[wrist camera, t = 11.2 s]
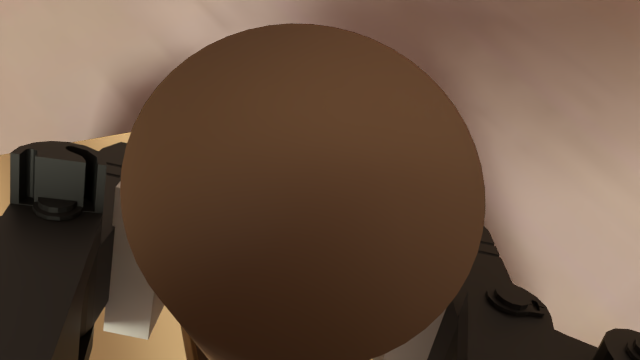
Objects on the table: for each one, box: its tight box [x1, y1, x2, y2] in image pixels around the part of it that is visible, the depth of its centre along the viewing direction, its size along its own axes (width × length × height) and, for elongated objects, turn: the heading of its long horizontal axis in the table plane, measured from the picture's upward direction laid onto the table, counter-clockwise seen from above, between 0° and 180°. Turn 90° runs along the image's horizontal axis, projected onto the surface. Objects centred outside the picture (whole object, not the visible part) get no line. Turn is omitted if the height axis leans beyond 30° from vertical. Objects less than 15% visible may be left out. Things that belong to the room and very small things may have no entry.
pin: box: [120, 24, 485, 360], centre depth 12 cm, size 4×4×12 cm
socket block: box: [0, 132, 373, 360], centre depth 23 cm, size 16×15×8 cm
